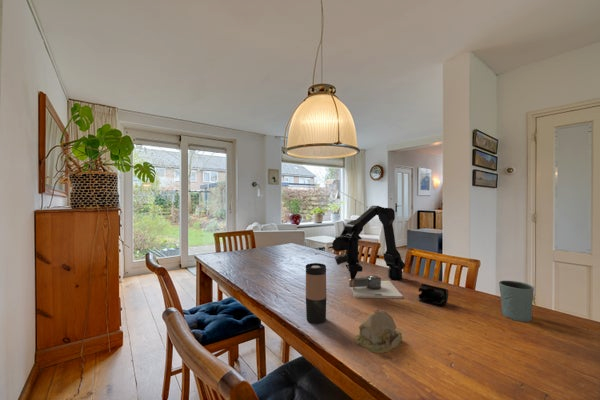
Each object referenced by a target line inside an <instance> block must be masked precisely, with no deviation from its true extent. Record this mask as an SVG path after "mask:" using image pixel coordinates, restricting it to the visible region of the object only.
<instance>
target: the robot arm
mask: <svg viewBox="0 0 600 400" xmlns="http://www.w3.org/2000/svg"><path fill="white" fill-rule="evenodd" d="M395 214H396V213H395V210H394V208H392V207H383V206H380V205H371V206H370V207H369V208H368V209H367V210H366V211H365V212H364V213H362V214H361V215H360V216H359V217H358V218H356V219H354V220H350V221H349V222H347V223H345V225H344V227H343V229H342V232H341V233H340V235H339V236H334V239H333V240H332V241H333V242H332V249H333V250H334V252H344V253H341V254H339V255H336V256H334V260H335V262H336V264H337V266H339V265H342V264H344V263H346V264H345V267H346V269H347V271H348V272H349V278H356V276H357V274H358V272H359V273H360V272H363V266H362V265H361V263H360V260H359V255H360V252H359V240H363V237H361V236H360V234H361V233H362V232H363V231H364V226H366V225H367V224H368V223H369V222H370V221H372V220H373V218H375V217H376V216H378V219H379V221H380V223H381V224H382V227H383V233H384V240H385V247H386V251H385V252H384V253H383V260H384V262H385V265H386V267H388V269H387V277H388V278H389V279H390V280H392V281H404V278H403V270H404V269H405V268H406V263H405V262H404V260H403V259H402V257H401V253H400V252H399V251H398V249H397V243H396V237H395V233H394V232H395V231H394V222H395V219H396V215H395Z"/></svg>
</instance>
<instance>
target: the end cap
mask: <svg viewBox="0 0 600 400" xmlns="http://www.w3.org/2000/svg"><path fill="white" fill-rule="evenodd" d="M420 285H421V286H420V287H419V288H418V292H419V293H418V299H419V300H418V301H419V303H422V304H423V303H424V304H427V305H431V306H434V307H437V308H440V309H441V308H443V307H444V306H446V304H447V303H448V300H449V290H448V289H447V288H444V287H439V286H435V285H430V284H426V283H421V284H420Z"/></svg>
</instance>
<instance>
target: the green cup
mask: <svg viewBox="0 0 600 400" xmlns="http://www.w3.org/2000/svg"><path fill="white" fill-rule="evenodd" d="M498 285H499V286H498V287H499V288H498V289H499V294H500V302H501V314H502V315H503V316H504V317H505V318H508V319H511V320H513V321H518V322H525V323H526V322H527V323H528V322H531V321H532V319H533V301H534V291H535V288H534V286H533V285H531V284H529V283H526V282H522V281H515V280H500V281H498Z"/></svg>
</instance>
